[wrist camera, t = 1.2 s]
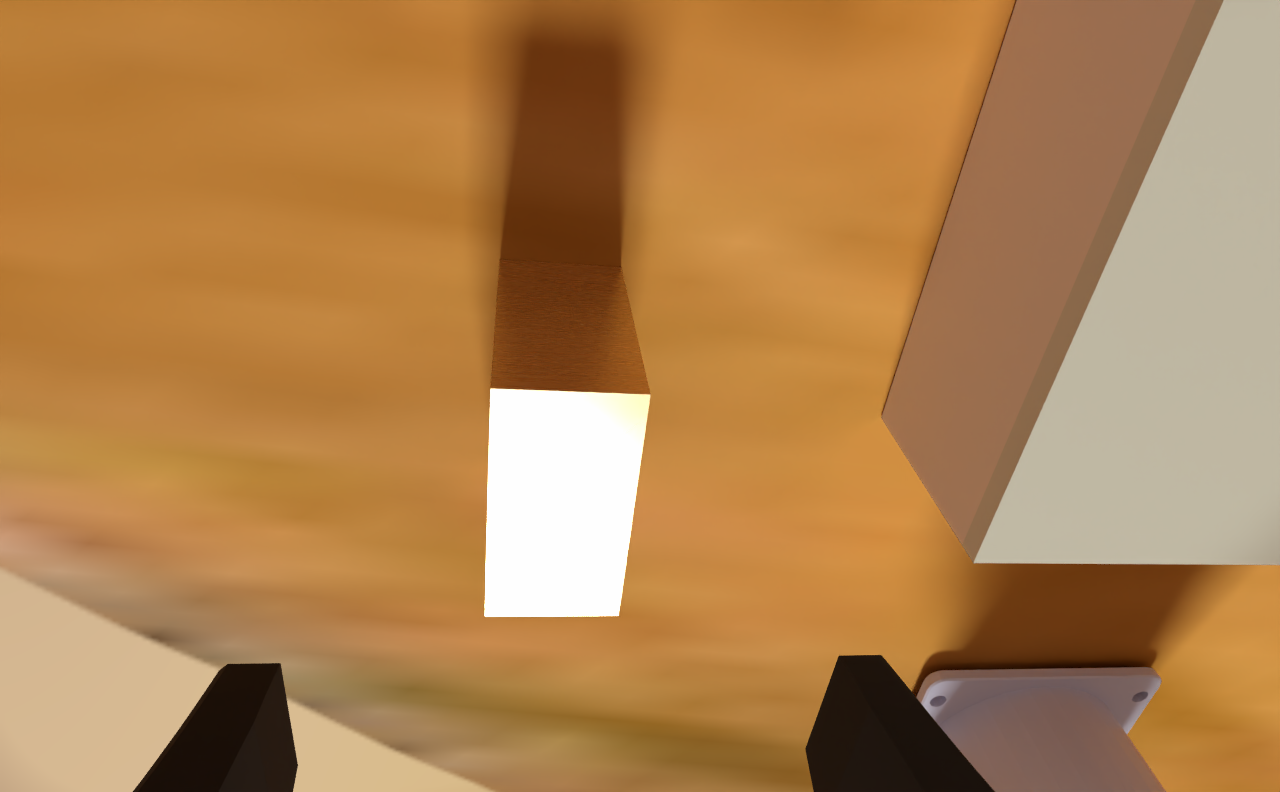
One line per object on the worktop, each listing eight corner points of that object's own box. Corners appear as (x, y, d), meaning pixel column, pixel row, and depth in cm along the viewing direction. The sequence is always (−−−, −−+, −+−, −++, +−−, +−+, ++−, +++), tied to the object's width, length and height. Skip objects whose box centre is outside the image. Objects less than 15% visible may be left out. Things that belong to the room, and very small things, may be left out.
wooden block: (599, 458, 20) (618, 616, 16) (494, 455, 20) (484, 616, 15) (620, 265, 17) (650, 394, 13) (499, 258, 17) (490, 388, 13)
